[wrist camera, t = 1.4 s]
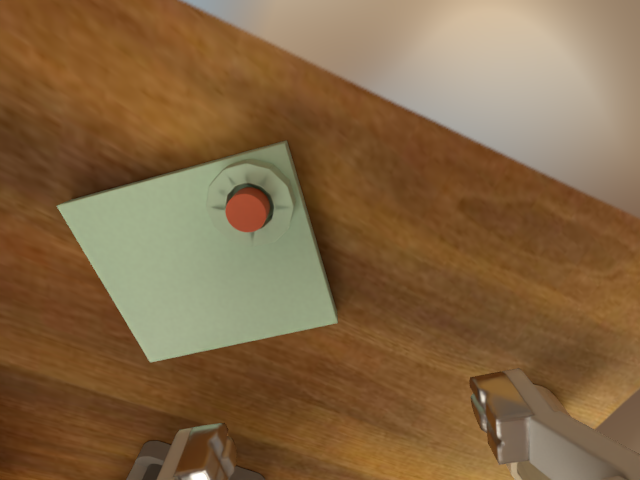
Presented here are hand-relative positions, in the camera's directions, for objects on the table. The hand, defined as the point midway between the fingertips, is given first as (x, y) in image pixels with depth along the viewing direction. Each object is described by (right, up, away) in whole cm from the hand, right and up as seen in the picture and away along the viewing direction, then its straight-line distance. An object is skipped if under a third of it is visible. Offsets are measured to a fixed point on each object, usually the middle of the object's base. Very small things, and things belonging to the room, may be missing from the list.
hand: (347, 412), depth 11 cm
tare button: (-5, +8, +10) cm, 14 cm away
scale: (-9, +4, +14) cm, 18 cm away
